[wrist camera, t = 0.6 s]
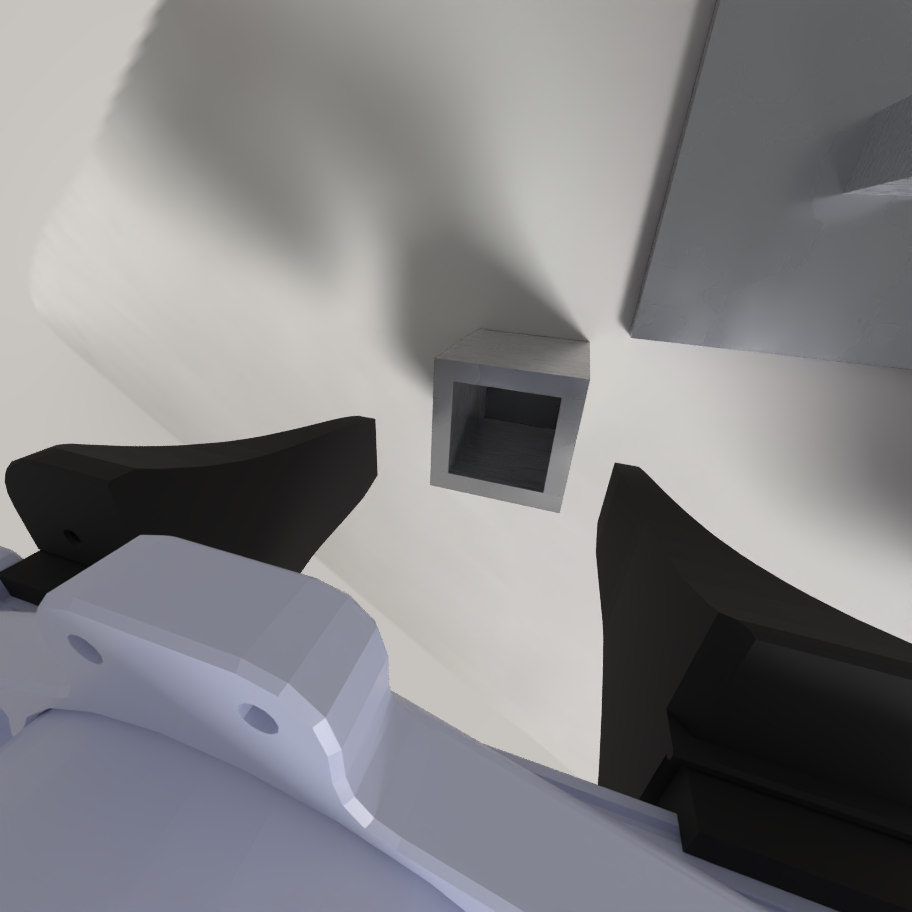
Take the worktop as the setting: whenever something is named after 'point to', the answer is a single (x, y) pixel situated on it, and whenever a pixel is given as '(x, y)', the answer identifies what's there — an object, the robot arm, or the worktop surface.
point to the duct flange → (792, 188)
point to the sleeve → (500, 442)
